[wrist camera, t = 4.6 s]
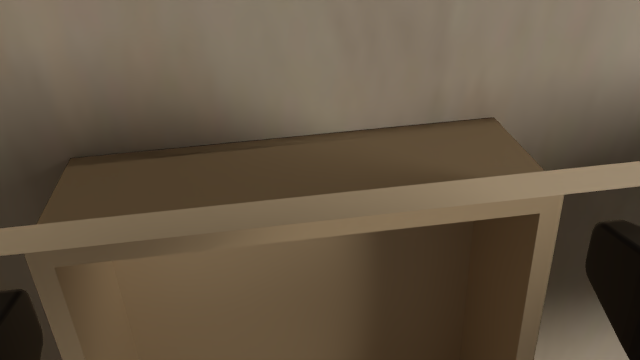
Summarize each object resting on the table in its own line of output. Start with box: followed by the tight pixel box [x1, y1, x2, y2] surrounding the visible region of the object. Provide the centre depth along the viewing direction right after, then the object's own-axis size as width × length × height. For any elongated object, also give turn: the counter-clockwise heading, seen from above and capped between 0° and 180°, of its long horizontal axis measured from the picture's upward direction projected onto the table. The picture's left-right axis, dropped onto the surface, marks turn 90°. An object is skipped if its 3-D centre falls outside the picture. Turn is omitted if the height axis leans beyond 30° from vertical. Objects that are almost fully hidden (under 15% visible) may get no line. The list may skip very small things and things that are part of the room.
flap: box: [0, 161, 640, 256], centre depth 12 cm, size 12×6×1 cm
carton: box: [24, 118, 564, 360], centre depth 21 cm, size 14×14×5 cm
